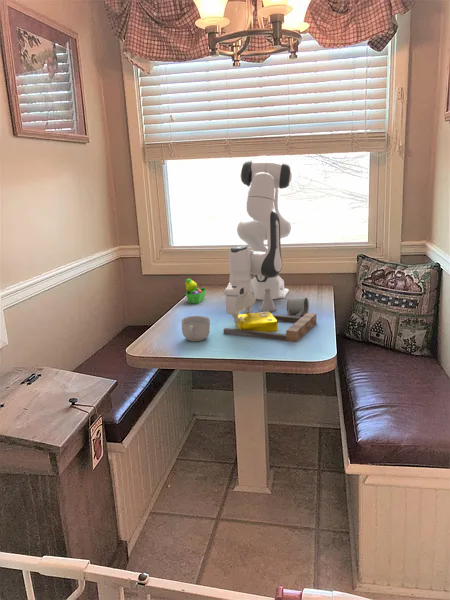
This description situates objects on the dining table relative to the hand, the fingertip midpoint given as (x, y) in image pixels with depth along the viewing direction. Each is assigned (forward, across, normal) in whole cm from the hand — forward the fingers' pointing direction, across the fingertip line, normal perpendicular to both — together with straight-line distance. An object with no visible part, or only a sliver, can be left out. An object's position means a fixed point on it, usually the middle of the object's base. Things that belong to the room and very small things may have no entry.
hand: (242, 319), depth 209 cm
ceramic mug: (+3, -21, +16) cm, 26 cm away
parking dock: (+3, 0, +12) cm, 13 cm away
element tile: (+3, 0, +6) cm, 7 cm away
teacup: (+3, +22, -9) cm, 24 cm away
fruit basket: (+3, -29, -40) cm, 49 cm away
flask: (+3, -24, +1) cm, 24 cm away
